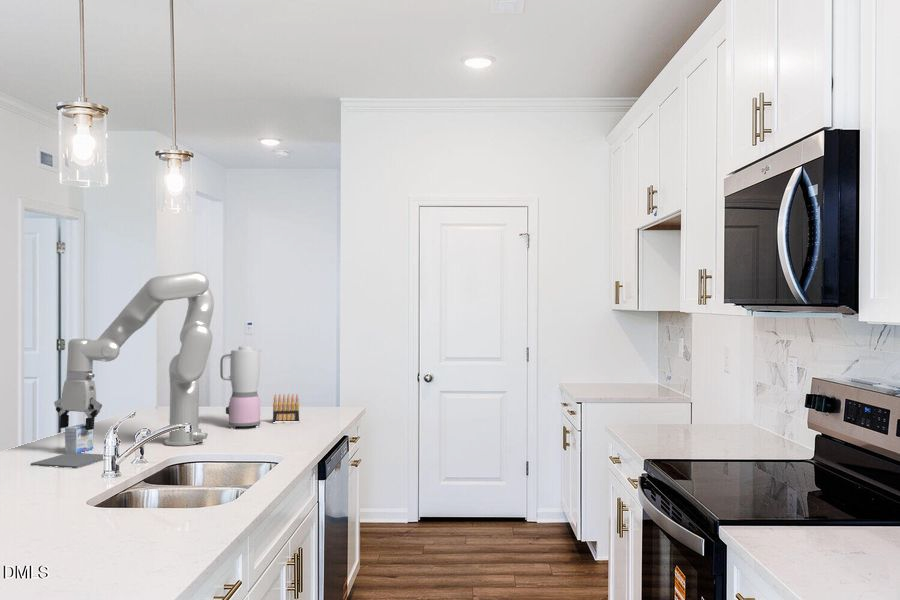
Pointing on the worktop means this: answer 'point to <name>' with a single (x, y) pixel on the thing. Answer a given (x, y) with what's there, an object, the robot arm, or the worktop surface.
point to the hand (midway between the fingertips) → (76, 428)
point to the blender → (243, 386)
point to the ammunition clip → (286, 409)
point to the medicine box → (78, 439)
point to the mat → (70, 460)
